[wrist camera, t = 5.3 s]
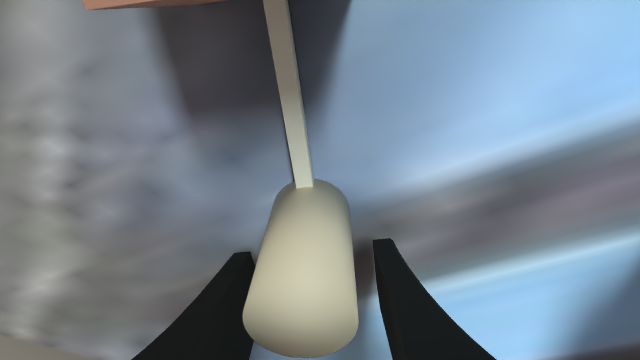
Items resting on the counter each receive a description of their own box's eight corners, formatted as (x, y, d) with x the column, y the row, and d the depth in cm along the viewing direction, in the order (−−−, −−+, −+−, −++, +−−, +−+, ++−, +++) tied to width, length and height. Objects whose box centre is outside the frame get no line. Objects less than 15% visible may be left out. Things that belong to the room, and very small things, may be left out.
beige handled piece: (339, -302, 7) (354, -868, 2) (370, 238, 13) (389, 354, 9) (130, -258, 7) (-193, -670, 3) (262, 245, 14) (230, 361, 9)
